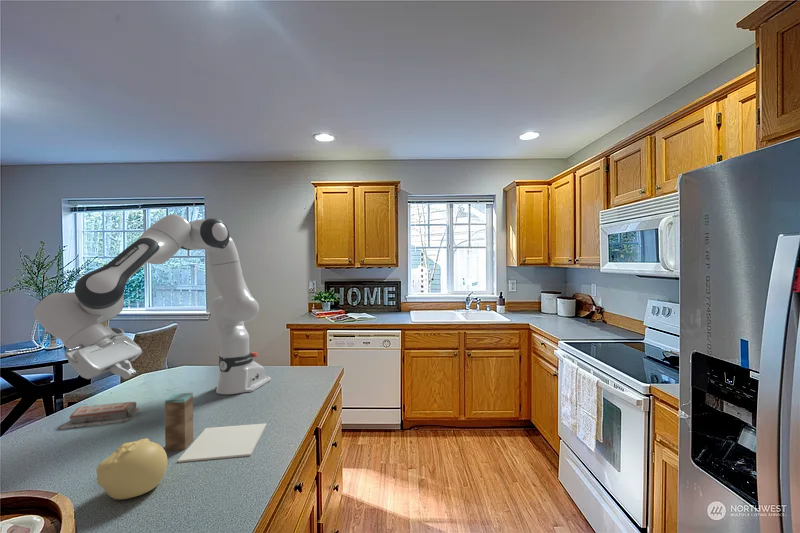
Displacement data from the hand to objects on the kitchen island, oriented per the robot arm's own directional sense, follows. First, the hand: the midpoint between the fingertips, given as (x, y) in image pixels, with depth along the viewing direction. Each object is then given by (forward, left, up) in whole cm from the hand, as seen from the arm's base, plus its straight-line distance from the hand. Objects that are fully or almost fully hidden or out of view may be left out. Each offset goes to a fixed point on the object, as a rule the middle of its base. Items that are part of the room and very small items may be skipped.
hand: (131, 375), depth 95 cm
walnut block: (-6, +10, -21) cm, 24 cm away
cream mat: (-12, +21, -21) cm, 32 cm away
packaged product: (-9, -31, -21) cm, 39 cm away
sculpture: (+11, +19, -21) cm, 31 cm away
